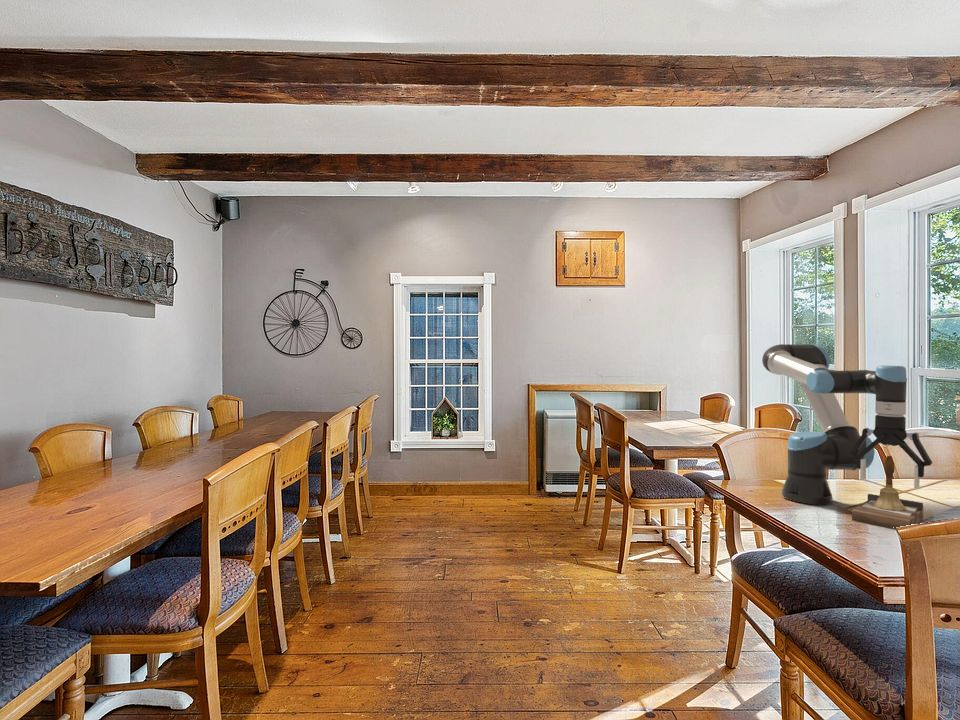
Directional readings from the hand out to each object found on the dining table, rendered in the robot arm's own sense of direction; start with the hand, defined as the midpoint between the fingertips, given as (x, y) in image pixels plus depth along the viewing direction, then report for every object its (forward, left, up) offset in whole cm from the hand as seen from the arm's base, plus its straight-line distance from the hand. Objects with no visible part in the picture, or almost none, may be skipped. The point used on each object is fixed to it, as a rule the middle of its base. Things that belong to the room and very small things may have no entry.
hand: (889, 483), depth 166 cm
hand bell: (0, 0, -8) cm, 8 cm away
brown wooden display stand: (-1, -2, -11) cm, 11 cm away
